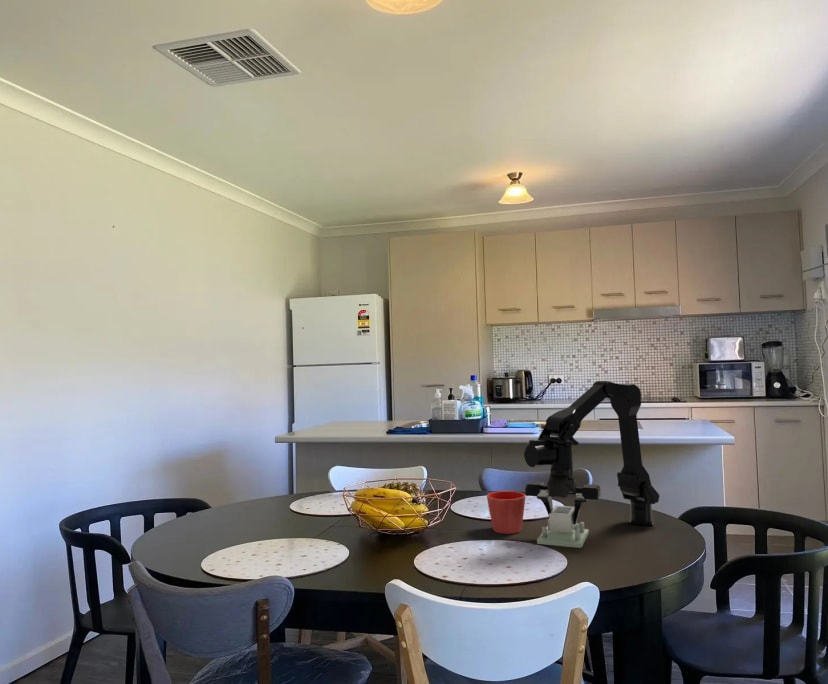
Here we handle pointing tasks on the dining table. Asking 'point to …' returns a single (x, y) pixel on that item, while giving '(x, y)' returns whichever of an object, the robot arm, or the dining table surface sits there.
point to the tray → (564, 536)
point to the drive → (562, 519)
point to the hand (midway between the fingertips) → (563, 523)
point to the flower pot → (506, 511)
